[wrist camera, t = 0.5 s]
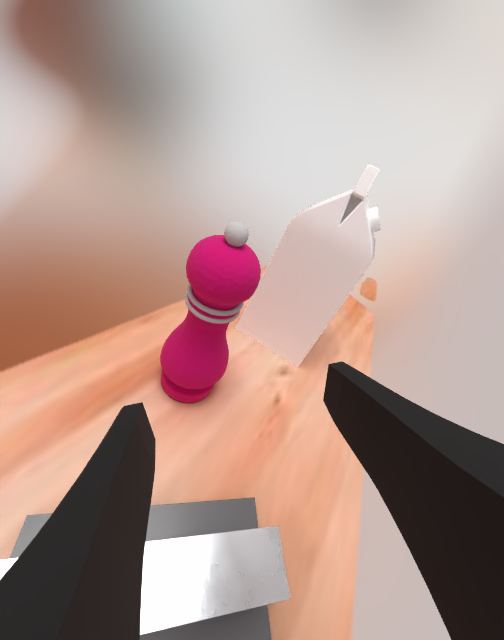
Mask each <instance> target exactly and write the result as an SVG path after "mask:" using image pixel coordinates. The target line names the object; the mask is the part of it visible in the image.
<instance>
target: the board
mask: <svg viewBox="0 0 504 640" xmlns="http://www.w3.org/2000/svg"><path fill="white" fill-rule="evenodd" d="M52 514H53V513H51V514H38V515H27V517H26V520H25V522H24V525H23V527H22V529H21V532H20V534H19V537H18V539H17V542H16V544H15V547H14V549H13V551H12V554H11V556H10V559H13V558H18V557H19V556H20V555H21V554H22V552H23V551H24V550H25V549H26V547H27V546H28V545H29V543H30V542H31V541H32V540H33V538H34V537H35V536H36V535H37V533H38V532H39V531H40V529H41V528H42V527H43V525H44V524H45V523H46V522H47V520H48V519H49V518H50V516H51V515H52ZM256 528H258V522H257V514H256V505H255V498H242V499H230V500H217V501H204V502H191V503H179V504H166V505H153V506H150V512H149V520H148V527H147V535H146V542H151V541H159V540H167V539H175V538H183V537H191V536H199V535H207V534H215V533H224V532H232V531H240V530H248V529H256ZM140 640H271V633H270V624H269V616H268V607H267V605H263V606H259V607H255V608H251V609H247V610H242V611H238V612H234V613H230V614H225V615H221V616H217V617H213V618H209V619H204V620H200V621H196V622H192V623H187V624H183V625H179V626H175V627H171V628H166V629H162V630H158V631H154V632H149V633H145V634H141V635H140Z"/></svg>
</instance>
